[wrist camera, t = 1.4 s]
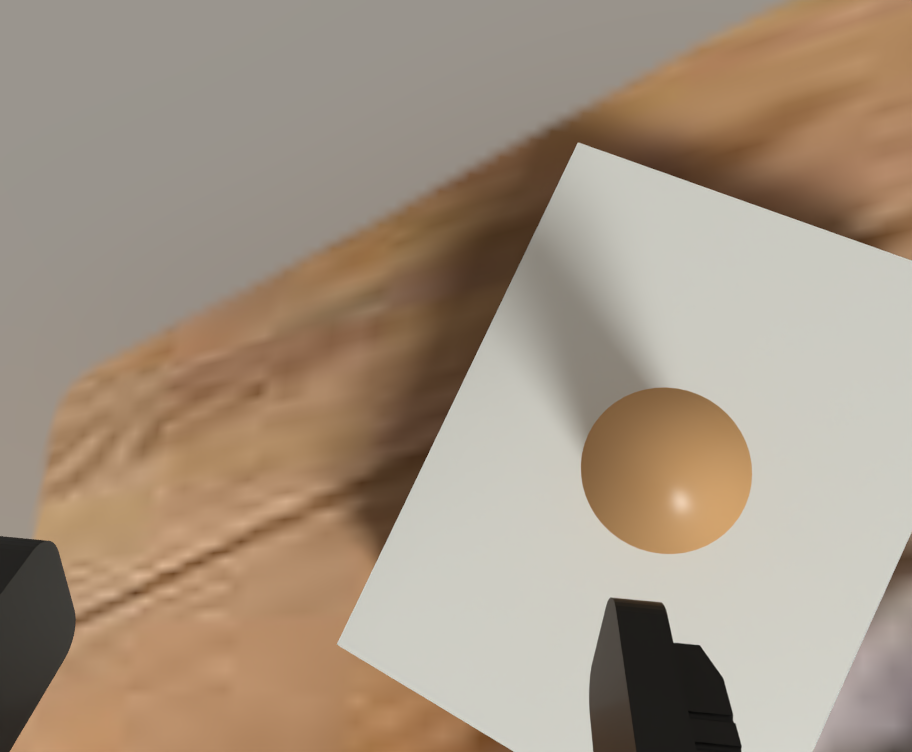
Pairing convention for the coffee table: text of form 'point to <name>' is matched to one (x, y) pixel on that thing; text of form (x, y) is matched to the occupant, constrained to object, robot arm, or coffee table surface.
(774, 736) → the tub lid
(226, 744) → the coffee table surface
